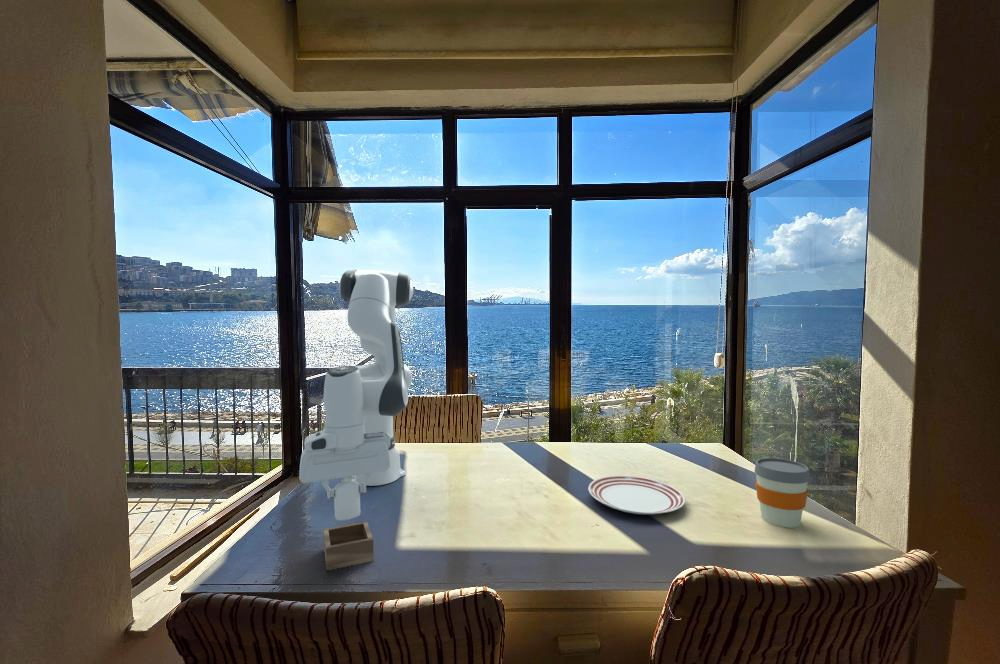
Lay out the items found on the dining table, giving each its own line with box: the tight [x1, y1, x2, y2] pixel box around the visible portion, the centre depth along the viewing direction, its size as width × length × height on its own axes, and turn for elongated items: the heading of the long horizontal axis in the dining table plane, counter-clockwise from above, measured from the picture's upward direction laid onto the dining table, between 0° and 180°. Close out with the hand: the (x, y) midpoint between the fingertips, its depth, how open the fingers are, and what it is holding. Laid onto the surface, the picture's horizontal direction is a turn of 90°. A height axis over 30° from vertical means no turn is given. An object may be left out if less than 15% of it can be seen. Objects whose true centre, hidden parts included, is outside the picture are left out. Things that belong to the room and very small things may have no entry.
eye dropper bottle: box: [333, 476, 361, 522], centre depth 108 cm, size 4×6×12 cm
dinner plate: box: [587, 474, 686, 516], centre depth 137 cm, size 28×27×3 cm
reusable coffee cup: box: [754, 457, 810, 529], centre depth 124 cm, size 13×13×15 cm
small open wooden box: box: [323, 520, 375, 571], centre depth 107 cm, size 10×10×5 cm
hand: (347, 494), depth 108 cm, fingers closed on eye dropper bottle, 6 cm apart
